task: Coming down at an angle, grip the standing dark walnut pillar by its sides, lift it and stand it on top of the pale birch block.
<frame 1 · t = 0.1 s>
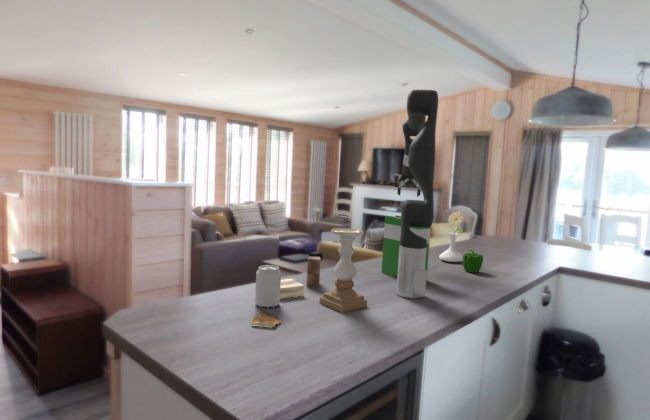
hand: (408, 195, 200), 31 cm above the worktop, tool tilted 20°, fingers open, 8 cm apart
flower in vase: (451, 262, 205), on the worktop
candle holder: (343, 305, 133), on the worktop
birch block: (285, 294, 141), on the worktop
bell pepper: (472, 272, 186), on the worktop
green and white box: (403, 276, 172), on the worktop
walnut pillar: (312, 284, 153), on the worktop
can: (267, 305, 129), on the worktop
sandwich: (261, 324, 115), on the worktop
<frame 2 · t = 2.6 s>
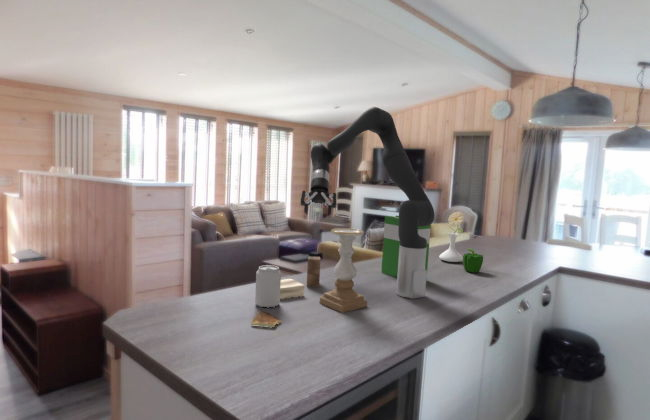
hand: (317, 214, 164), 25 cm above the worktop, tool tilted 45°, fingers open, 8 cm apart
nothing on the worktop moved.
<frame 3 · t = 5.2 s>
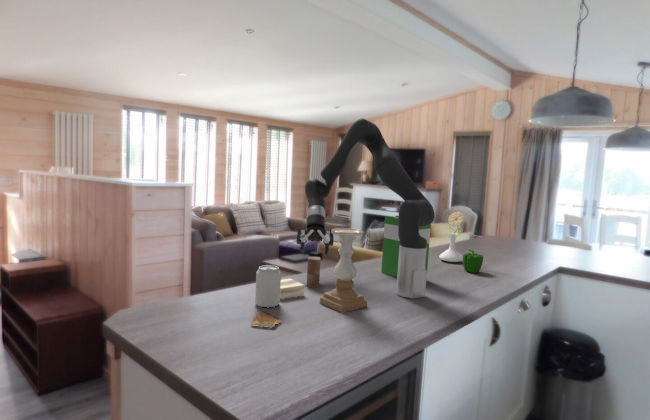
hand: (314, 253, 158), 10 cm above the worktop, tool tilted 45°, fingers open, 8 cm apart
nothing on the worktop moved.
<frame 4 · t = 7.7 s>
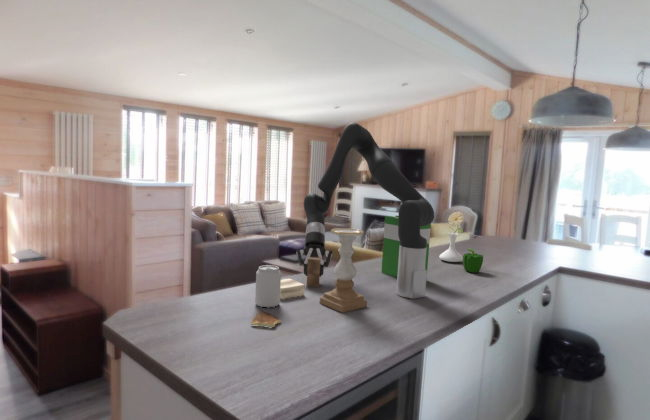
hand: (313, 275, 151), 4 cm above the worktop, tool tilted 45°, fingers closed on walnut pillar, 4 cm apart
walnut pillar: (312, 284, 153), on the worktop, touching gripper
everything else where it was.
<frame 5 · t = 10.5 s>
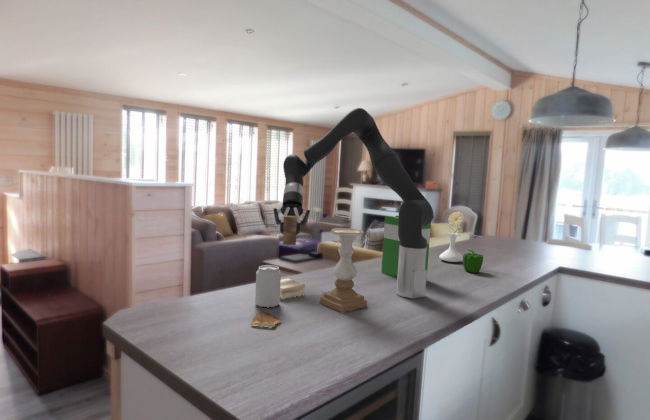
hand: (289, 233, 149), 19 cm above the worktop, tool tilted 45°, fingers closed on walnut pillar, 4 cm apart
walnut pillar: (289, 243, 152), point 15 cm above the worktop, touching gripper
everything else where it was.
when the fingers open (10 cm above the worktop, at t = 13.6 s): walnut pillar drops 2 cm, resting on birch block.
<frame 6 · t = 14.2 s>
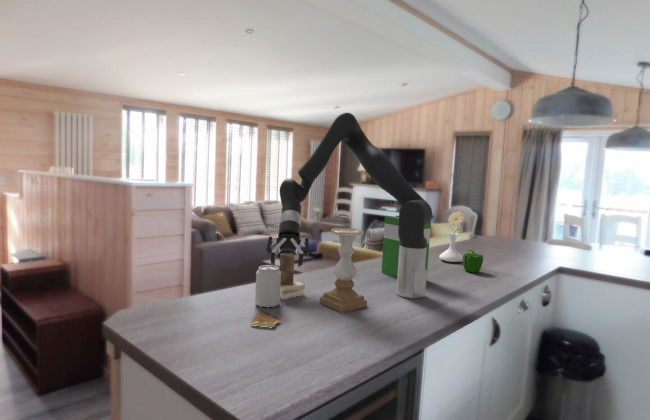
hand: (286, 265, 138), 10 cm above the worktop, tool tilted 45°, fingers open, 8 cm apart
birch block: (285, 295, 141), on the worktop, touching walnut pillar
walnut pillar: (286, 283, 141), point 4 cm above the worktop, touching birch block
everything else where it was.
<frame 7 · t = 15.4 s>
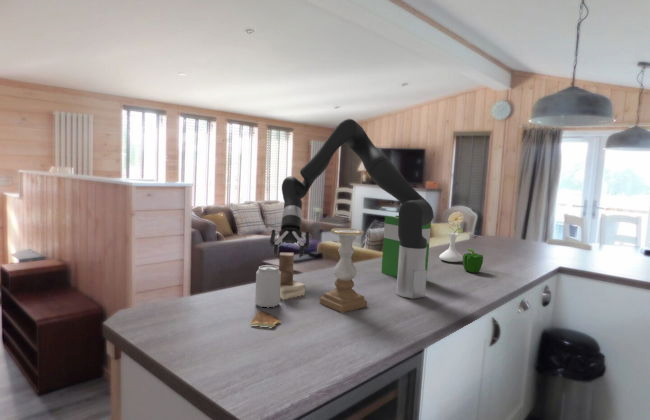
hand: (288, 255, 150), 11 cm above the worktop, tool tilted 45°, fingers open, 8 cm apart
nothing on the worktop moved.
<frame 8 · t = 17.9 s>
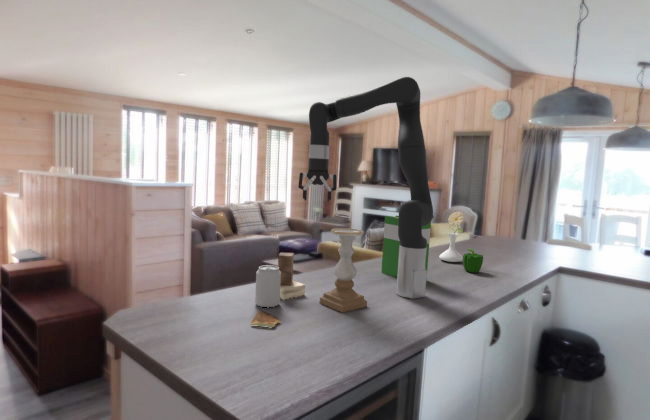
hand: (316, 200, 158), 30 cm above the worktop, tool pointing down, fingers open, 8 cm apart
birch block: (285, 295, 140), on the worktop
walnut pillar: (285, 283, 140), point 4 cm above the worktop
everything else where it was.
at the end: walnut pillar 0.5 cm off-centre on the birch block, point 4.2 cm above the birch block's base; walnut pillar tilted 4°; the gripper is holding nothing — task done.
